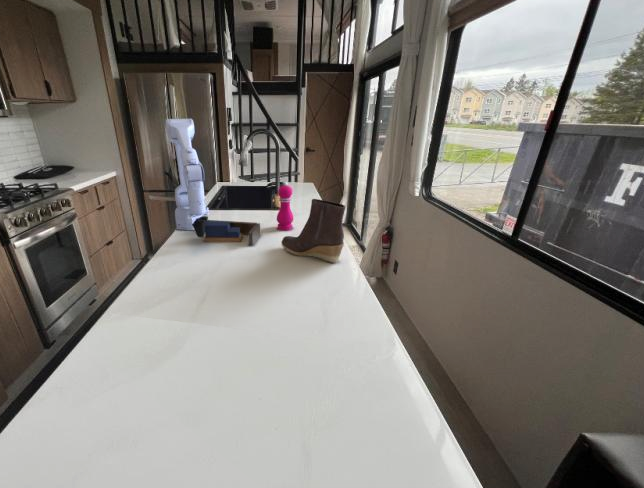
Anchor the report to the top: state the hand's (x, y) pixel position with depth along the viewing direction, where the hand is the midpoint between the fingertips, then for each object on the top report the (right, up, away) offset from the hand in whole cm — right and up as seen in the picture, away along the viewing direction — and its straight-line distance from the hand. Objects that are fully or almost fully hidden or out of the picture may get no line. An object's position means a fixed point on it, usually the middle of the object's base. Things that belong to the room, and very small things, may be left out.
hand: (200, 236), depth 120 cm
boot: (+40, -7, -5) cm, 41 cm away
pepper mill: (+32, +5, +20) cm, 38 cm away
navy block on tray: (+8, +1, +11) cm, 13 cm away
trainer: (+7, 0, +10) cm, 12 cm away
